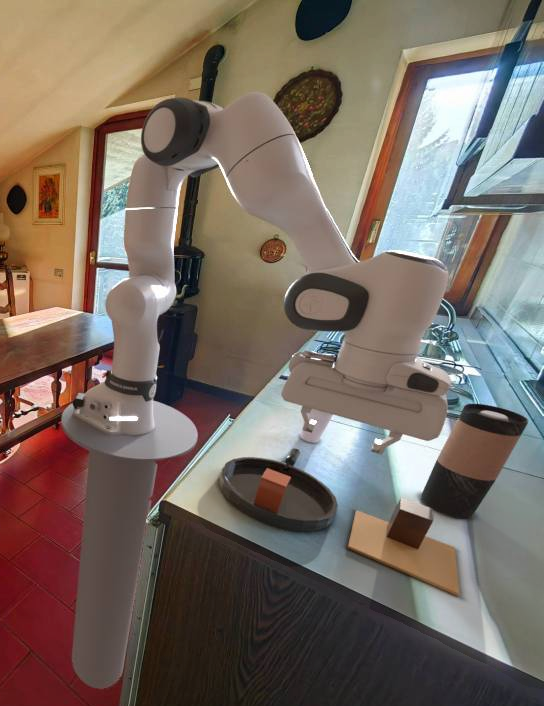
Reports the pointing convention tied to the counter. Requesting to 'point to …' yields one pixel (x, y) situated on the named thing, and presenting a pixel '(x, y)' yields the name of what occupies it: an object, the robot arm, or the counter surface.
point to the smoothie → (316, 426)
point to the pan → (299, 502)
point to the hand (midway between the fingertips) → (340, 440)
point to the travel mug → (472, 459)
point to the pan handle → (291, 458)
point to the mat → (405, 553)
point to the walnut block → (410, 523)
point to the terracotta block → (272, 490)
